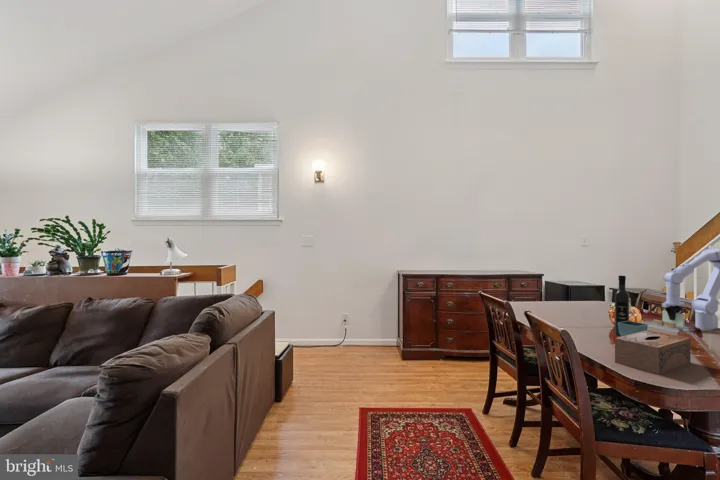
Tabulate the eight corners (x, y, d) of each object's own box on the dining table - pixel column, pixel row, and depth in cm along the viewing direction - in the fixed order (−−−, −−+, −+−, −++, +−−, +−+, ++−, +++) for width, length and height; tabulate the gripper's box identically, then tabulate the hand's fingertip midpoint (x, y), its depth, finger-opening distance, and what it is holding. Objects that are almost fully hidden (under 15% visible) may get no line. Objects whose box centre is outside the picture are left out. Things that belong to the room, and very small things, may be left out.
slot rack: (662, 325, 206) (662, 320, 206) (695, 332, 191) (695, 327, 191) (643, 327, 202) (643, 322, 202) (675, 334, 186) (675, 329, 186)
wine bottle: (628, 336, 182) (628, 276, 182) (614, 335, 186) (614, 275, 185) (629, 334, 187) (629, 275, 186) (615, 332, 190) (615, 275, 190)
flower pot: (616, 340, 175) (616, 322, 175) (627, 338, 179) (627, 320, 179) (637, 345, 167) (637, 326, 167) (648, 343, 171) (648, 324, 171)
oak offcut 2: (666, 328, 195) (666, 321, 195) (675, 330, 191) (675, 323, 191) (663, 328, 195) (663, 321, 194) (673, 330, 190) (673, 323, 190)
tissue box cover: (647, 353, 157) (647, 330, 157) (690, 363, 145) (690, 338, 145) (614, 363, 145) (614, 338, 145) (658, 375, 132) (658, 347, 132)
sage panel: (663, 324, 202) (663, 310, 202) (684, 329, 193) (684, 314, 193) (662, 325, 202) (662, 310, 202) (683, 329, 192) (683, 314, 192)
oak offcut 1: (655, 325, 200) (655, 319, 200) (664, 327, 196) (664, 321, 196) (652, 326, 200) (652, 319, 200) (661, 328, 195) (661, 321, 195)
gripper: (674, 292, 203) (674, 317, 203) (655, 294, 199) (655, 319, 199) (689, 294, 197) (688, 320, 197) (670, 296, 192) (670, 322, 192)
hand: (673, 319), depth 197 cm, fingers closed on sage panel, 1 cm apart
